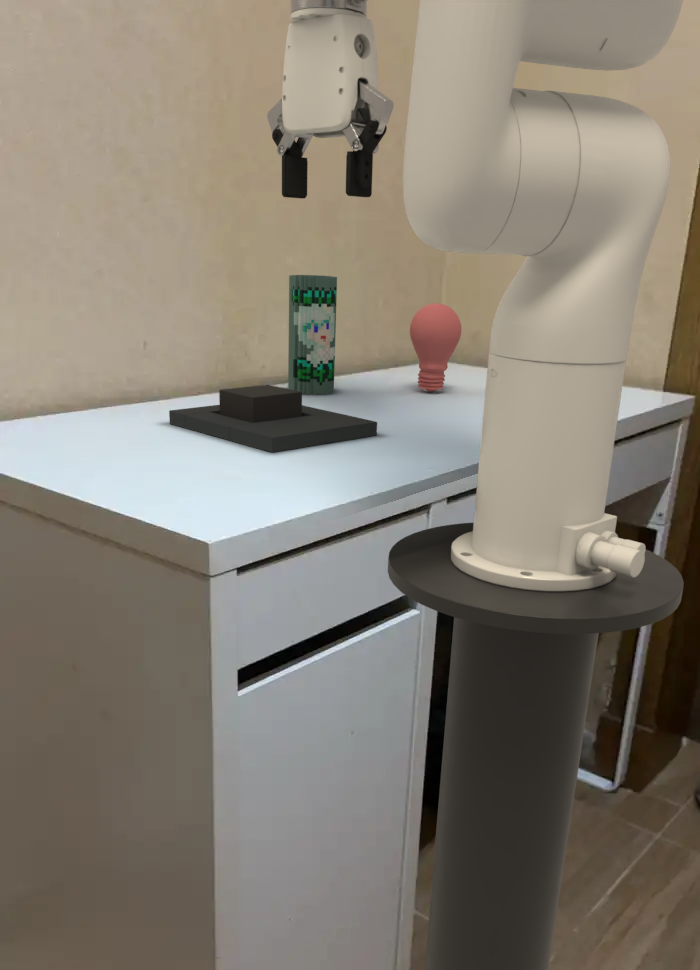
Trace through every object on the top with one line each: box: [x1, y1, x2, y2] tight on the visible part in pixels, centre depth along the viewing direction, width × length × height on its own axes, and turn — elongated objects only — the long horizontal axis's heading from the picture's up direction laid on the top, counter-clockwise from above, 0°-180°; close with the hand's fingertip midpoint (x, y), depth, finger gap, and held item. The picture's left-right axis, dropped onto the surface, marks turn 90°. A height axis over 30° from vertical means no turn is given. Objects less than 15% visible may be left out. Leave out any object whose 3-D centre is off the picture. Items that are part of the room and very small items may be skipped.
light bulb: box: [409, 302, 462, 393], centre depth 130 cm, size 7×7×12 cm
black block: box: [218, 384, 303, 423], centre depth 105 cm, size 6×7×4 cm
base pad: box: [168, 404, 378, 453], centre depth 104 cm, size 18×15×2 cm
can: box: [287, 274, 338, 396], centre depth 127 cm, size 6×6×15 cm
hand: (325, 197), depth 98 cm, fingers open, 9 cm apart
